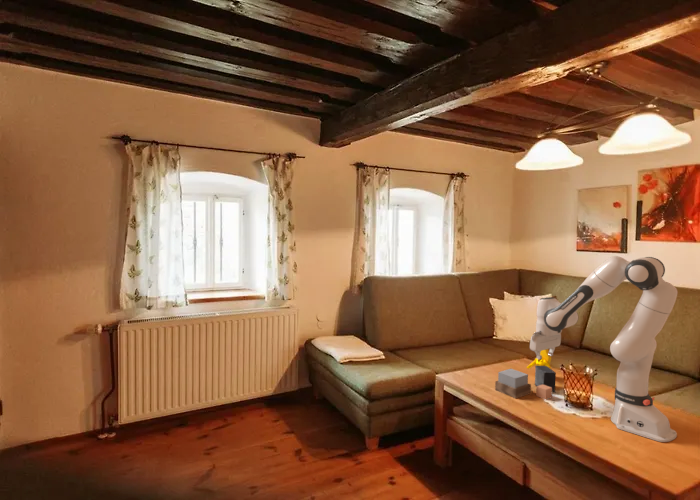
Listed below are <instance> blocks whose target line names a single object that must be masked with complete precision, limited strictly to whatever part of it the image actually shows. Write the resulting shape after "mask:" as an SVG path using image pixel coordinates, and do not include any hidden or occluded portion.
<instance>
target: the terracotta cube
mask: <svg viewBox="0 0 700 500" xmlns="http://www.w3.org/2000/svg"><path fill="white" fill-rule="evenodd" d="M535 387H536V392H535V393H536V397H538V398H540V399H543V400H545V399H546V400H548V398H549V399H551V398H550V397H553V396H552V395H553V392H552V387H549V386H546V385H543V384H542V385H539V386H535Z"/></svg>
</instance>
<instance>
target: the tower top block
mask: <svg viewBox="0 0 700 500" xmlns="http://www.w3.org/2000/svg"><path fill="white" fill-rule="evenodd" d="M497 374H498V377H497V378H498V380H497V381H498V382H500V383H503V384H506V385H508V386H511V387H513V388H518V387H521V386H524V385H527V384H529V374H527V373H525V372H522V371H519V370H517V369H513V368H508V369H505V370H501V371H498V373H497Z"/></svg>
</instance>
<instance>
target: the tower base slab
mask: <svg viewBox="0 0 700 500" xmlns="http://www.w3.org/2000/svg"><path fill="white" fill-rule="evenodd" d="M494 383H495V386H494V387H495V388H494V389H495V391H497V392H499V393H501V394H504V395H505V396H509V397H511V398H513V399H518V398H521V397H524V396H527V395H530V394H531V392H532V391H531V389H532V384H531V383H528V384H527V385H524V386H521V387H518V388H513V387H511V386H508V385H506V384H503V383H500V382H498V380H496V381H495V382H494Z"/></svg>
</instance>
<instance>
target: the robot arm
mask: <svg viewBox="0 0 700 500" xmlns="http://www.w3.org/2000/svg"><path fill="white" fill-rule="evenodd" d="M665 273H666V268H665V264H664V263H663V262H662V261H661V260H660V259H658V258H656V257H654V256H653V257H652V256H645V257H639V258H636V259H633V260H631V261H629V260H627V259H625V258H624V257H621V256H617V255H614V256H613V255H612V256H611V257H608V258H607V259H606V260H604V261H603V262H602V263H600V264H599V265H598V266H597V267H596V268H594V269H593V270H592V271H591V273H590V274H589V275H588V276H587V277H586V278H585V279H584V281H582V283H581V284H580V285H579V286H578V287H577V288H576V289H575V290H574V291H573V292H572V293H571V294H570V295H569V296H568V297H567V298H565V300H564V301H562V302H560V301H559V300H558V299H557V298H556V297H551V296H549V297H542V298H539V299H538V301H537V305H536V322H535V331H533V334H532V335H531V337H530V341H529V350H530V351H532V352H534V353H535V355H536V357H535V358H537V359H542V358H541V357H542V356H541V355H540V353H541V351H542V350H546V349H548V351H549V352H548V356H551V357H553V356H554V352H555V349H556V347H560V345H561V341H562V332H563V330H564V329H566V328H570V327H573V326H574V325H576V324H577V323H578V321H579V313H578V310H579V309H580V308H581V307H583V306H584V305H585V304H587V303H590V302H592V301H594V300H597V299H600V298H603V297H605V296H607V295H609V294H610V293H612V291H613V292H614V290H616V288H617V287H619V286H620V285H621V284H622V283H623V282H624V281H626V280H627V281H628V282H629V283H631V284H632V285H634V287H636V288H638V289H639V290H641V291H642V294H641V296H640V298H639V300H638V302H637V304H636V305H635V308H634V310H633V312H632V314H631V315H630V317H629V318H628V320H627V322H626V323H625V325H624V326H623V327H622V328H621V330H620V331H619V332H618V334H617V336H616V337H615V339H614V340H613V341H612V342H611V343H610V347H609V351H610V353H611V355H612V358H614V359H615V360H617V361H619V362H620V364H619V366H618V368H617V371H616V385H615V386H616V387H615V388H614V389H615V390H614V401H615V402H614V408H613V411H612V415H611V417H610V420H611V422H612V423H613V424H614V425H615V426H616V428H617V429H619V430H621V431H624V432H628V433H631V434H635V435H637V436H641V437H644V438H648V439H650V440H653V441H656V442H660V443H667V442H671V441H673V440H675V439H676V438H677V436H678V433H677V431H676V430H674V429H672V428H671V425H670V420H669V418H668V417H667V416H666V415H665V414H664V413H663V412H662V411H661V410H659V408H657V407H656V406H655V405H654V404H653V403H654V401H655V398H656V397H655V396H654V397H651V395H650V394H649V380H650V378H649V377H650V374H651V373H650V372H651V368H652V365H653V359H654V354H655V352H656V349H657V346H658V345H657V341H656V336H657V335H658V334H659V333H660V332H661V331H662V329H663V327H664V326H665V323H666V322H667V320H668V318H669V316H670V315H671V313H672V311H673V308H674V306H675V303H676V301H677V298H678V289H677V287H676V286H674V284H672V283H670V282H667V281H666V280H664V279H663V277H664V276H665Z"/></svg>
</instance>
